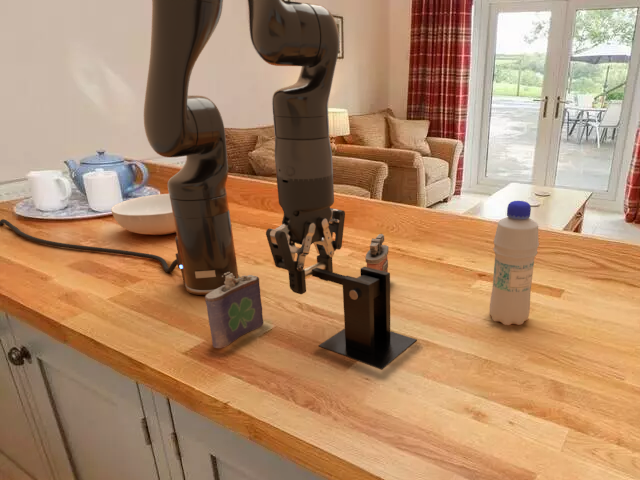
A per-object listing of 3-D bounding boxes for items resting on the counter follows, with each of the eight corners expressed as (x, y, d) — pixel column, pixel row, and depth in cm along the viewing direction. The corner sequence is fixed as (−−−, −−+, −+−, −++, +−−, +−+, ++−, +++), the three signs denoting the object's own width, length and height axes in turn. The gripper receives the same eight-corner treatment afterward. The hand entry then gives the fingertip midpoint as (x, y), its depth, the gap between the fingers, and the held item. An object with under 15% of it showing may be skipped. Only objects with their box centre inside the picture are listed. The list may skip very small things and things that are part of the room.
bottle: (504, 336, 75) (516, 209, 67) (478, 318, 81) (487, 198, 73) (538, 326, 78) (553, 203, 70) (511, 309, 83) (523, 194, 76)
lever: (296, 282, 71) (295, 267, 70) (319, 271, 75) (319, 257, 74) (364, 304, 65) (364, 288, 64) (385, 291, 69) (385, 275, 68)
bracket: (318, 353, 70) (313, 277, 66) (357, 327, 77) (354, 257, 73) (382, 376, 65) (380, 296, 60) (417, 347, 72) (418, 272, 67)
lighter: (381, 300, 87) (380, 246, 83) (362, 298, 87) (361, 245, 83) (391, 282, 94) (391, 232, 90) (374, 280, 94) (373, 231, 91)
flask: (222, 356, 69) (210, 287, 65) (207, 351, 70) (195, 282, 66) (268, 329, 77) (261, 265, 72) (255, 324, 78) (246, 261, 74)
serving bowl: (151, 216, 134) (146, 191, 131) (224, 220, 131) (220, 194, 128) (96, 240, 115) (89, 212, 112) (180, 245, 112) (174, 216, 109)
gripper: (319, 160, 73) (324, 265, 80) (243, 176, 62) (257, 297, 69) (359, 166, 70) (361, 275, 77) (286, 184, 59) (297, 310, 65)
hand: (312, 285), depth 73 cm, fingers closed on lever, 5 cm apart
